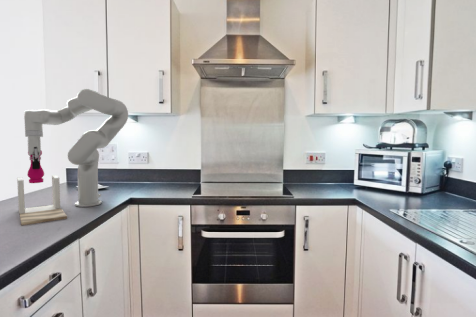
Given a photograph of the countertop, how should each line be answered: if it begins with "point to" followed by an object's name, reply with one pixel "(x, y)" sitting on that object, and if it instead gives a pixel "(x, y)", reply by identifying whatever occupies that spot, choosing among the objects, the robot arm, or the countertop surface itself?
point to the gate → (42, 208)
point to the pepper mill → (35, 172)
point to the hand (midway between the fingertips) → (35, 167)
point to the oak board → (42, 216)
